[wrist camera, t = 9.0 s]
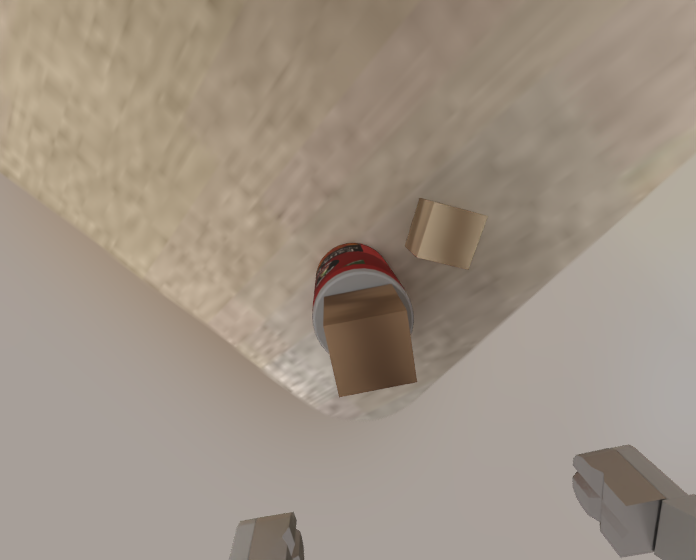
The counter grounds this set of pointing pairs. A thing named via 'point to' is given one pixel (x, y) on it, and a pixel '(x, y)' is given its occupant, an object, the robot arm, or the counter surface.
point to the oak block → (445, 233)
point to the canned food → (352, 280)
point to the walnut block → (368, 340)
